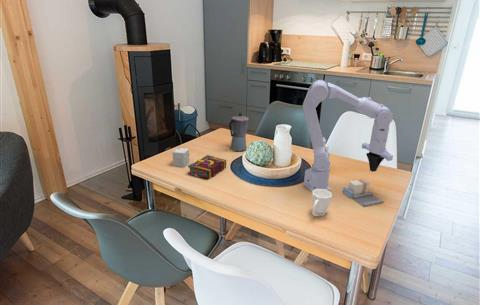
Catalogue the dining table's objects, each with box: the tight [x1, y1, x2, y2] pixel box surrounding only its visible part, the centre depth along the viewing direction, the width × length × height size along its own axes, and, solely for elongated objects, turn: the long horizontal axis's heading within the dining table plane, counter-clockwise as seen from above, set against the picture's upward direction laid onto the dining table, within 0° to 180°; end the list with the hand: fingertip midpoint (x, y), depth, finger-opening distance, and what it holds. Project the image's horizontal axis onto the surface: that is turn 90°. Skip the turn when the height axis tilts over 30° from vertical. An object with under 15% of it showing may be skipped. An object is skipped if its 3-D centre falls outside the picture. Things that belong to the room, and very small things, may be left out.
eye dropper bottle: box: [322, 136, 329, 152], centre depth 161 cm, size 4×6×12 cm
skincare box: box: [171, 147, 191, 168], centre depth 154 cm, size 6×6×7 cm
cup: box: [312, 189, 333, 217], centre depth 114 cm, size 7×10×8 cm
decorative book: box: [187, 154, 227, 180], centre depth 147 cm, size 11×16×5 cm
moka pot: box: [228, 112, 250, 152], centre depth 171 cm, size 10×15×20 cm, turn 148°
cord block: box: [348, 179, 371, 196], centre depth 129 cm, size 7×4×5 cm, turn 110°
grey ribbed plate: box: [341, 186, 385, 208], centre depth 127 cm, size 10×13×3 cm
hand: (373, 170), depth 127 cm, fingers closed
